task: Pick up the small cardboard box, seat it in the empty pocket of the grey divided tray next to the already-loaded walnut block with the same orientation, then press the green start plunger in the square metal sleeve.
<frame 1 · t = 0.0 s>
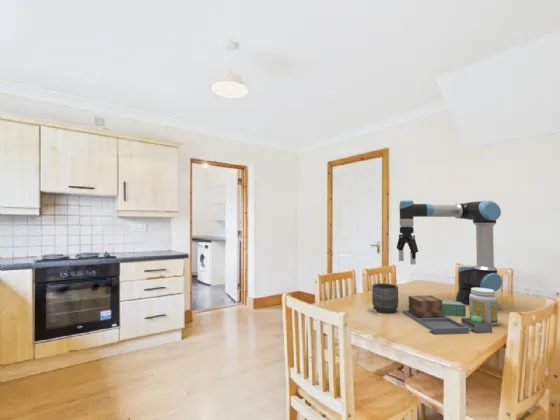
hand: (406, 262, 178), 28 cm above the table, fingers open, 13 cm apart
box: (450, 316, 168), on the table
planter: (385, 312, 175), on the table
start button: (476, 320, 148), point 4 cm above the table, slide at 0.0 cm
supplement tub: (483, 322, 158), on the table
square metal sleeve: (476, 329, 148), on the table
walnut block: (425, 316, 163), point 1 cm above the table, touching grey divided tray
grey divided tray: (433, 323, 156), on the table
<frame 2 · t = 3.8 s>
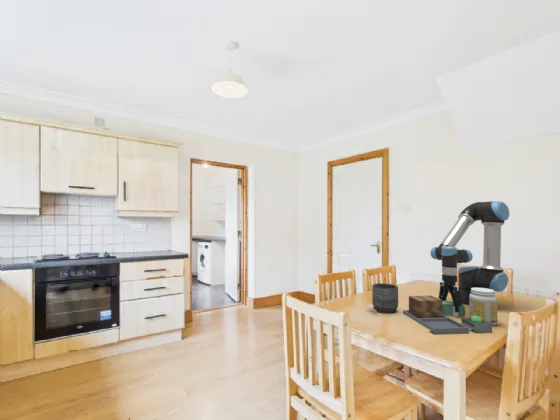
hand: (449, 315, 168), 0 cm above the table, fingers open, 9 cm apart
nothing on the table moved.
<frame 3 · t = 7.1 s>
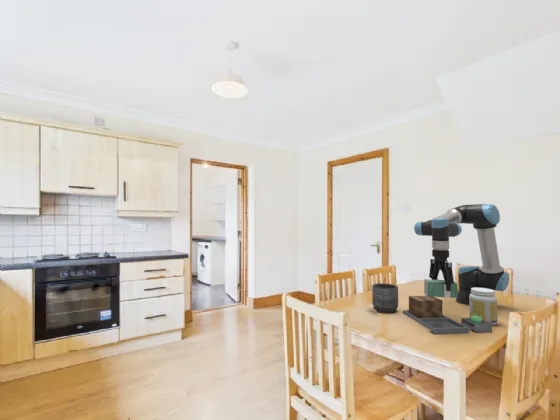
hand: (441, 295, 149), 16 cm above the table, fingers closed on box, 9 cm apart
box: (440, 296, 150), point 15 cm above the table, touching gripper
everything else where it was.
when the fingers open (3 cm above the table, at t = 9.7 s): box drops 2 cm, resting on grey divided tray.
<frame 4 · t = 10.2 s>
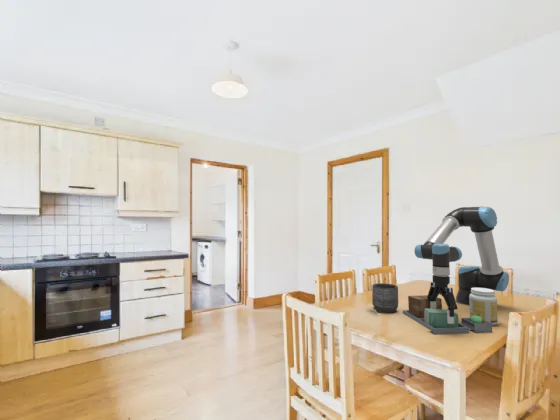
hand: (441, 318, 149), 5 cm above the table, fingers open, 13 cm apart
box: (441, 326, 149), point 1 cm above the table, touching grey divided tray
walnut block: (425, 316, 163), point 1 cm above the table, touching gripper, grey divided tray
everything else where it was.
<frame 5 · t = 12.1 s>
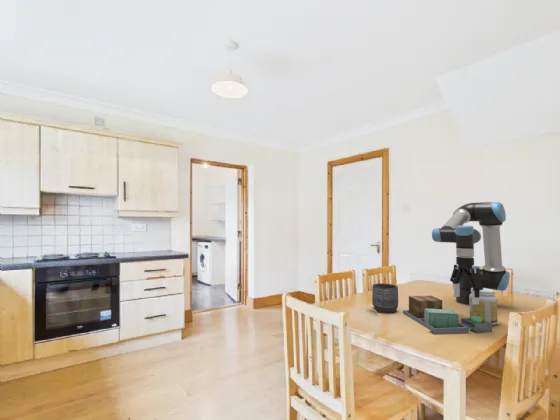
hand: (465, 300, 149), 14 cm above the table, fingers open, 13 cm apart
walnut block: (425, 316, 163), point 1 cm above the table, touching grey divided tray
everything else where it was.
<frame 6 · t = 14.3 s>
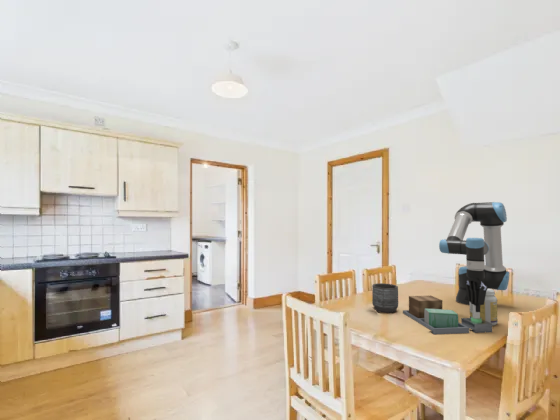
hand: (476, 318, 148), 5 cm above the table, fingers closed
start button: (476, 322, 148), point 3 cm above the table, slide at 0.9 cm, touching gripper
everything else where it was.
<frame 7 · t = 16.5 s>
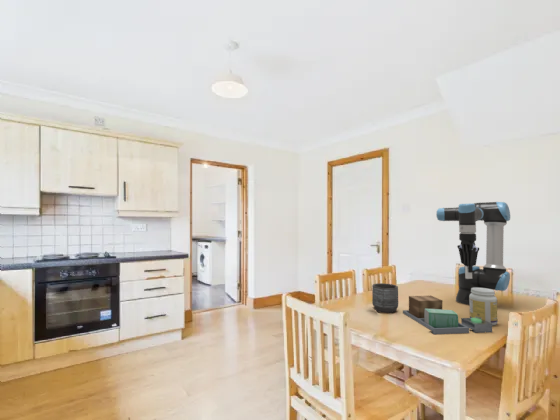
hand: (468, 278, 158), 23 cm above the table, fingers closed
start button: (476, 323, 148), point 3 cm above the table, slide at 1.1 cm
everything else where it was.
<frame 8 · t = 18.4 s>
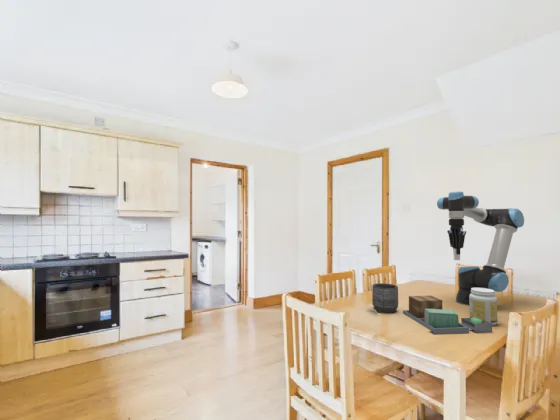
hand: (456, 260, 172), 30 cm above the table, fingers closed
nothing on the table moved.
at the end: box inside the target area on the grey divided tray (0.4 cm from its centre), point 0.8 cm above the grey divided tray's base; box tilted 0°; start button slide at 1.1 cm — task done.
